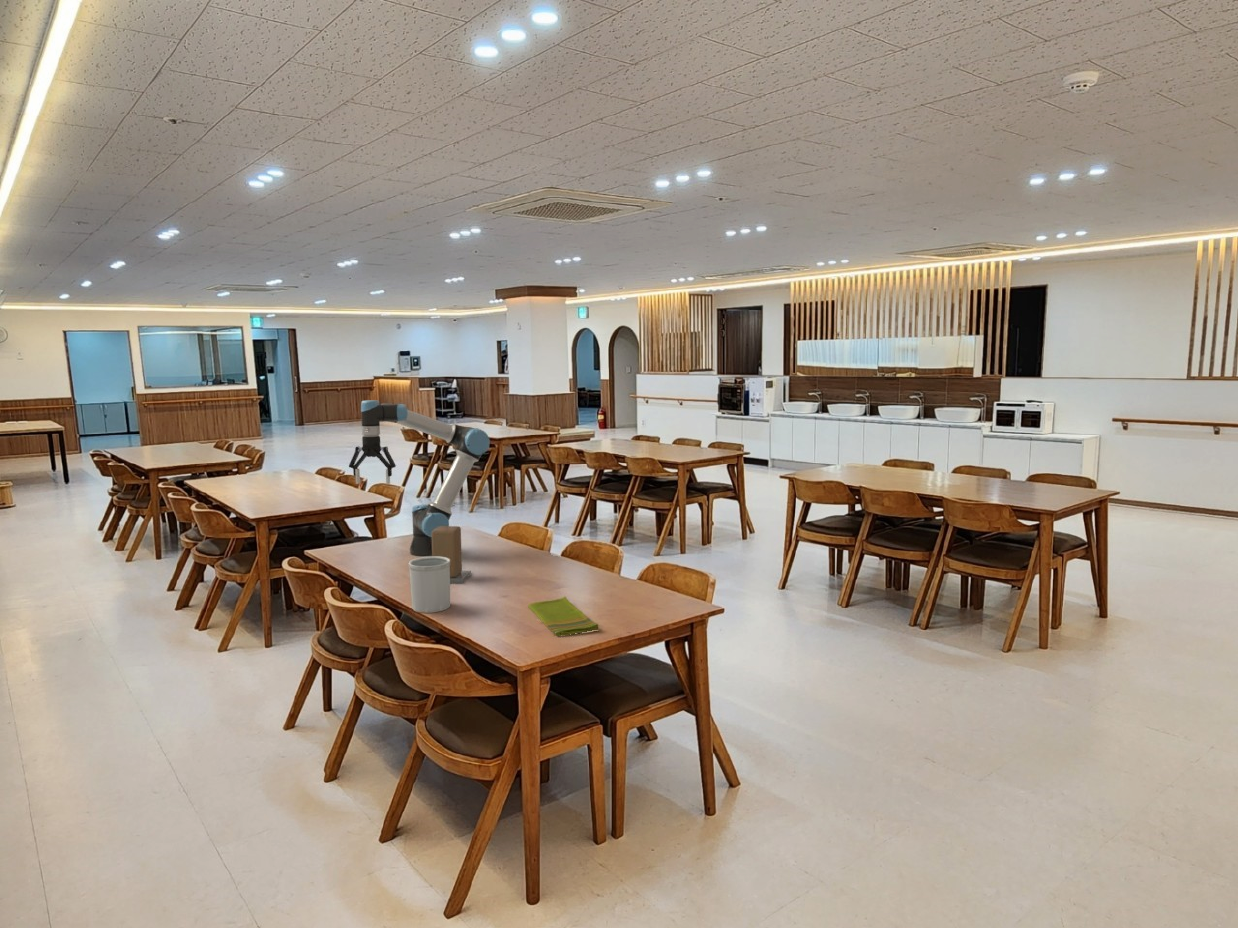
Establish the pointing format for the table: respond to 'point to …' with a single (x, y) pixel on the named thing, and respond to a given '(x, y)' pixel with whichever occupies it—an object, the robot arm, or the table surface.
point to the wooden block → (448, 546)
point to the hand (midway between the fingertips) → (373, 483)
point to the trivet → (460, 577)
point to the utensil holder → (430, 584)
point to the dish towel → (562, 617)
